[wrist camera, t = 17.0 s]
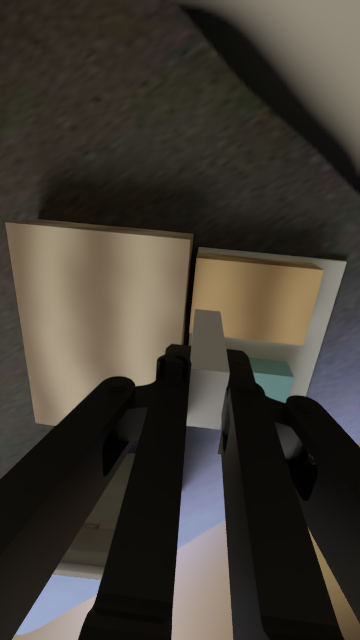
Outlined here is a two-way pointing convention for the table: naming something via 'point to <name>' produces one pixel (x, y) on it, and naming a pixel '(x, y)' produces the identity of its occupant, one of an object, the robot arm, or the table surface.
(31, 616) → the table surface
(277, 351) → the mat
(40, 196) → the table surface
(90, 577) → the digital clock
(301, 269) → the ochre tile
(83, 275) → the platform
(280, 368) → the teal tile
